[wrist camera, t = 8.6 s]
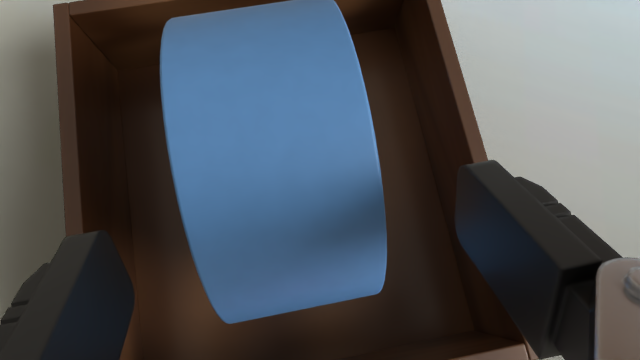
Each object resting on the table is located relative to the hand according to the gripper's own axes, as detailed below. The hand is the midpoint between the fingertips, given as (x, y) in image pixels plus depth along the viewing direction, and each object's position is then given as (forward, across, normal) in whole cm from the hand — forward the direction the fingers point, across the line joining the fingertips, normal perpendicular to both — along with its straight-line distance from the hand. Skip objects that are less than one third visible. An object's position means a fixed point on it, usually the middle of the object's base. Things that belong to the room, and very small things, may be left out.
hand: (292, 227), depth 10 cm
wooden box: (+9, 0, +5) cm, 10 cm away
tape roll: (+9, 0, +5) cm, 10 cm away
